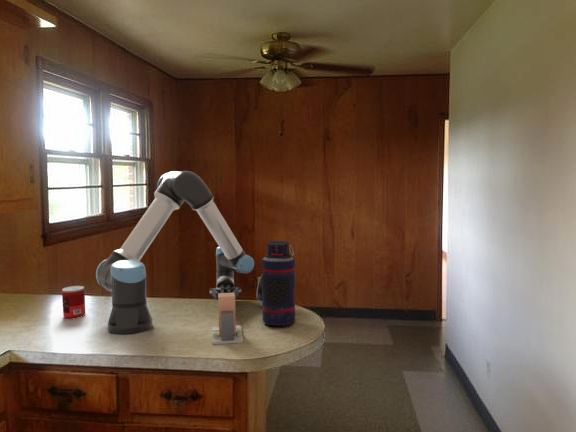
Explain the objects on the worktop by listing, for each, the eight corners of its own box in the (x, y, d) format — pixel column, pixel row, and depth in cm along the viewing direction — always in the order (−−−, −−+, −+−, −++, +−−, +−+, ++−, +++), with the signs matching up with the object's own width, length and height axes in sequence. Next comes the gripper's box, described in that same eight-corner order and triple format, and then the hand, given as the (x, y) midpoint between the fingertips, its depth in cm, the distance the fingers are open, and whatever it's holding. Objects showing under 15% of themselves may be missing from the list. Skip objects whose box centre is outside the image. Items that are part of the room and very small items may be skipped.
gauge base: (212, 344, 149) (212, 338, 149) (212, 329, 164) (212, 323, 164) (243, 342, 151) (243, 336, 151) (240, 327, 166) (240, 321, 165)
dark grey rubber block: (221, 341, 150) (221, 313, 149) (221, 338, 153) (220, 311, 152) (234, 340, 150) (233, 313, 150) (233, 337, 153) (233, 310, 152)
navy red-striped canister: (291, 329, 163) (291, 244, 160) (258, 327, 165) (257, 244, 163) (298, 317, 176) (298, 239, 174) (268, 316, 179) (267, 238, 176)
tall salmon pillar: (212, 335, 154) (212, 297, 153) (213, 330, 159) (212, 293, 158) (241, 334, 155) (241, 296, 154) (240, 329, 160) (240, 292, 159)
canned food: (89, 313, 184) (88, 285, 183) (78, 319, 176) (76, 290, 175) (70, 312, 185) (69, 285, 184) (59, 318, 177) (57, 290, 176)
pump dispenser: (281, 309, 187) (281, 272, 186) (255, 309, 187) (255, 272, 186) (282, 302, 197) (281, 267, 196) (257, 302, 197) (257, 267, 196)
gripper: (241, 294, 198) (243, 310, 175) (209, 295, 196) (208, 312, 173) (240, 277, 197) (243, 290, 174) (209, 278, 195) (207, 292, 172)
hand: (225, 301), depth 173 cm, fingers closed
